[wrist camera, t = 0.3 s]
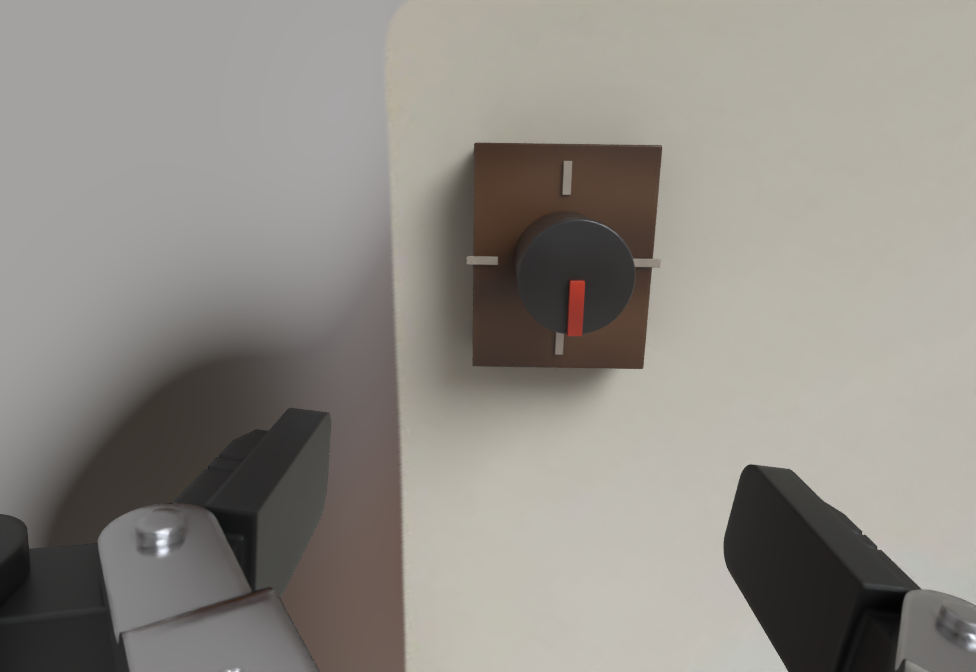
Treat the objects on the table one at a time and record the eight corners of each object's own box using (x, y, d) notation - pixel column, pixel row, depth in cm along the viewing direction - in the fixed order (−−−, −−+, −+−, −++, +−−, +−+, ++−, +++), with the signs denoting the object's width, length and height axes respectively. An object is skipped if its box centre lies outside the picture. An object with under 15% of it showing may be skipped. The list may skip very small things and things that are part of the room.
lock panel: (469, 145, 28) (467, 142, 25) (651, 148, 28) (670, 145, 25) (468, 348, 31) (465, 367, 28) (635, 351, 31) (650, 370, 28)
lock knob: (514, 210, 26) (519, 218, 21) (615, 211, 26) (642, 220, 21) (512, 308, 27) (516, 336, 23) (609, 310, 27) (632, 338, 23)
